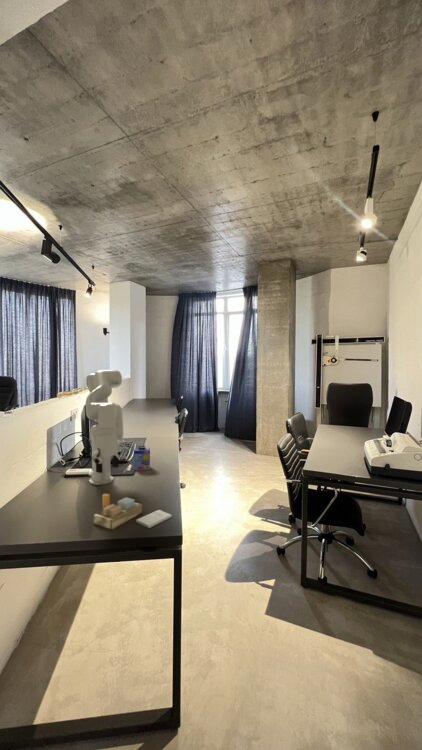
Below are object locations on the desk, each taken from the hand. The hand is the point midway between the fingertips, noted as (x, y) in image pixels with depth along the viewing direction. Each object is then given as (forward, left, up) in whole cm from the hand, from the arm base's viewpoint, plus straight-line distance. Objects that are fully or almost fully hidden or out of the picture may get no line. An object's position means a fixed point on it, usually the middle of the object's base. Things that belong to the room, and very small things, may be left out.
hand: (107, 469), depth 149 cm
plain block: (+12, -9, -17) cm, 23 cm away
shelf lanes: (+11, -5, -17) cm, 21 cm away
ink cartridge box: (-24, +51, -18) cm, 59 cm away
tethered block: (+6, -1, -17) cm, 19 cm away
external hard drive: (+25, +1, -18) cm, 31 cm away
